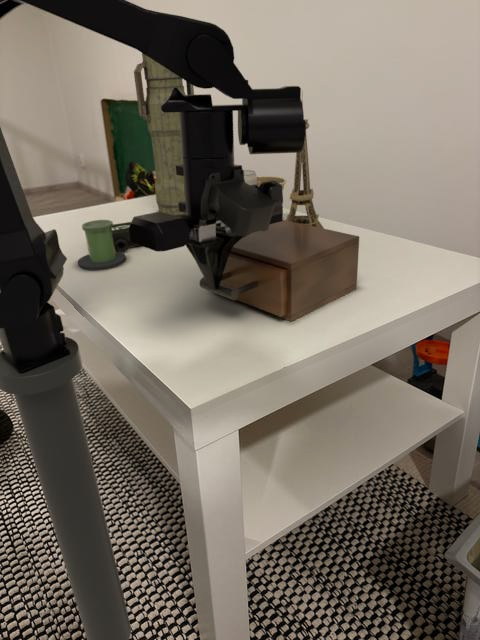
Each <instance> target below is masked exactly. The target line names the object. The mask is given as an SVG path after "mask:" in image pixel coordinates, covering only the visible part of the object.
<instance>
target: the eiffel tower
mask: <svg viewBox="0 0 480 640" xmlns="http://www.w3.org/2000/svg"><path fill="white" fill-rule="evenodd" d="M301 101H302V106H303V107H304V101H303V100H301ZM304 120H305V121H306V131H305V141H304V146H303V149H302V151H301V152H300V153H295V165H294V178H293V188H292V191H291V193H290V195H289V200H291V205H290V209H289V213H288V214H287V215H286V218H285V220H287V221H291V222H296V223H300V224H305V225H310V226H314V227H319V228H323V229H325V228H324V226H323V225H322V223H321V222H320V220H319V218H320V217H319V216H320V214H317V212H316V210H315V206H314V202H313V199H314V193H315V192H314V189H313V188H311V179H310V166H309V152H308V138H307V130H308V129H309V128H310V124H309V122H308V121H309V119H308V118H306V119H305V118H304ZM301 179H302V180H301ZM301 181H302V187H303V189H301ZM298 206H304V207H305V211H306V215H296V213H297V209H298Z"/></svg>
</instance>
